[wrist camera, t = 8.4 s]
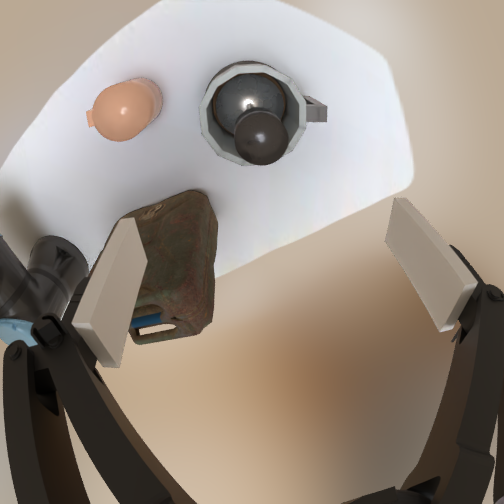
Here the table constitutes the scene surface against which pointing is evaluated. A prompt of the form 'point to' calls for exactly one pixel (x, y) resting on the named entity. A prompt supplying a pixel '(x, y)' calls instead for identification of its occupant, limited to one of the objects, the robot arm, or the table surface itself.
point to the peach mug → (125, 109)
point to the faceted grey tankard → (292, 118)
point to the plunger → (254, 118)
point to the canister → (175, 267)
